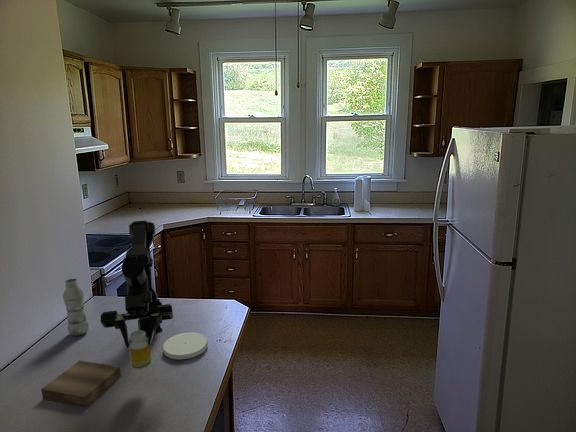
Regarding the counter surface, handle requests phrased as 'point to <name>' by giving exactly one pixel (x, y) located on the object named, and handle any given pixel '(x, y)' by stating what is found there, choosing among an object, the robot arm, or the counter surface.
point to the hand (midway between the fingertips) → (138, 346)
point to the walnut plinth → (81, 383)
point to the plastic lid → (185, 345)
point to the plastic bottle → (75, 308)
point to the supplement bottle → (139, 350)
